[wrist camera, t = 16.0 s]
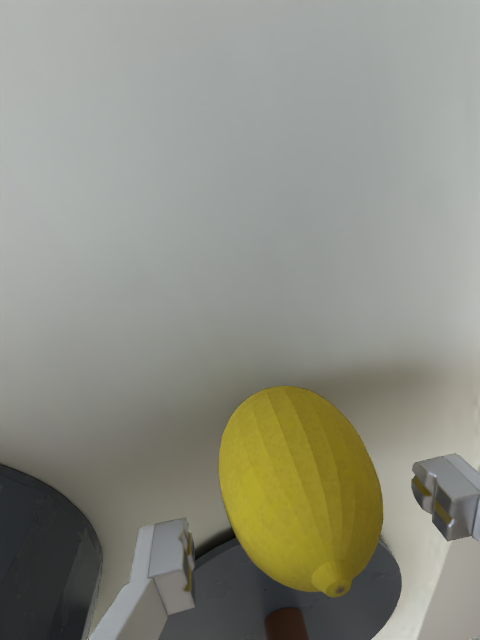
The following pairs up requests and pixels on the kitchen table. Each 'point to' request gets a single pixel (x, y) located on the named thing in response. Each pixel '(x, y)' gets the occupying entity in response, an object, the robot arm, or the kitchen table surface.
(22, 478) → the pot
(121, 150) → the kitchen table surface
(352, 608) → the lid
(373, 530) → the lemon
